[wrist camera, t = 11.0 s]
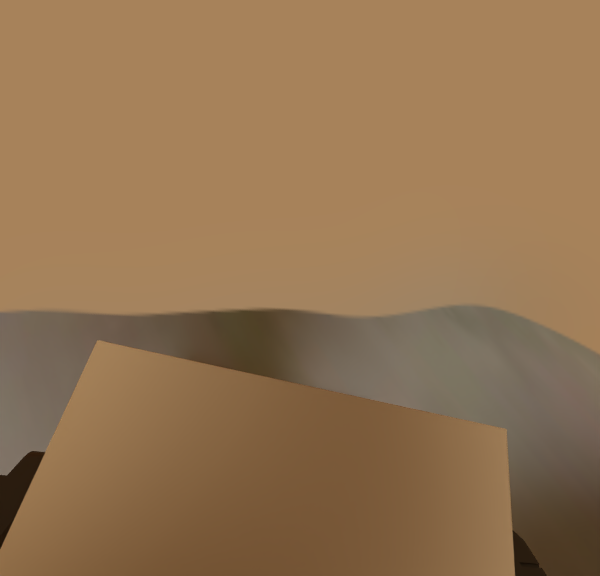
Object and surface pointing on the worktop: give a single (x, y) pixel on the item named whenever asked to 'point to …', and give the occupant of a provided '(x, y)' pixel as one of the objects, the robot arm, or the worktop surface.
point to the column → (256, 481)
